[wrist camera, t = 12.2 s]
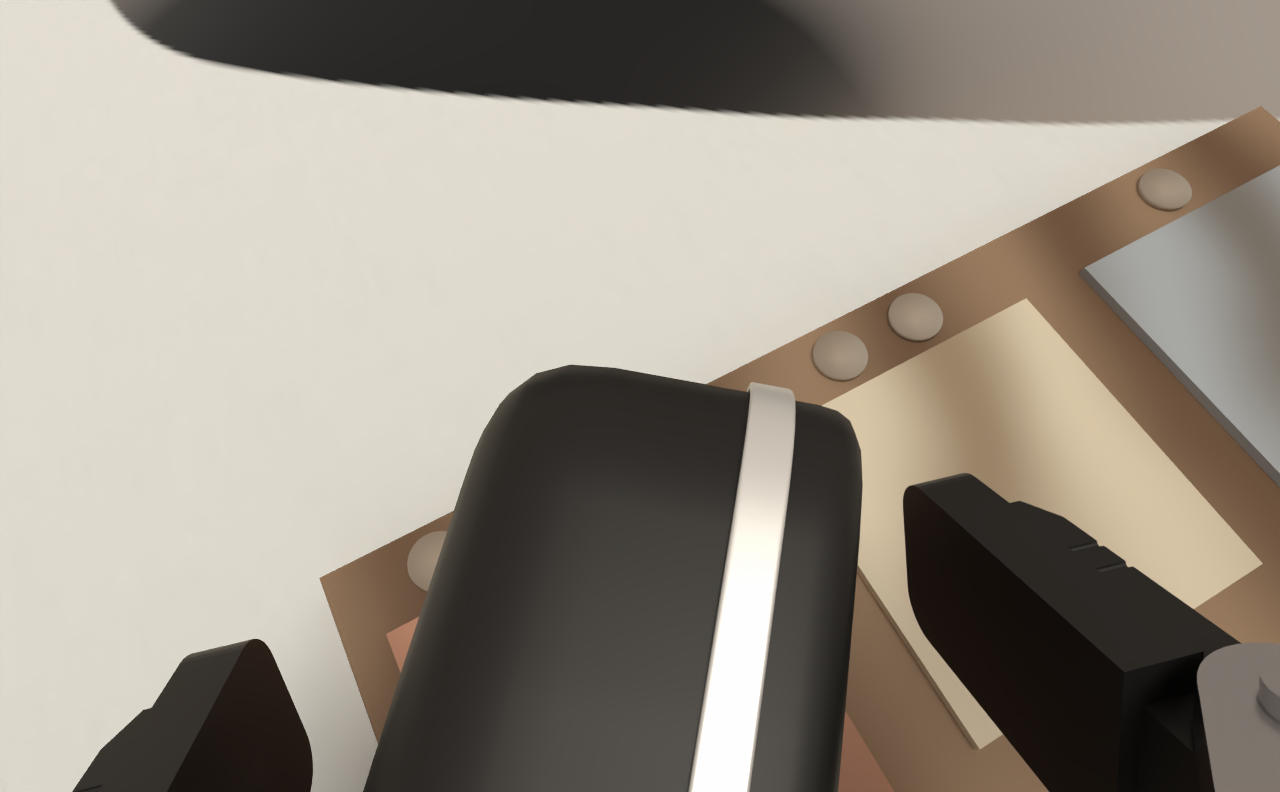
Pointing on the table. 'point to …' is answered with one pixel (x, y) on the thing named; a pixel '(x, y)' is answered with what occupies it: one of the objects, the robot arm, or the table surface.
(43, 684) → the table surface
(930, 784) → the tile board
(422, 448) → the table surface
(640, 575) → the battery charger
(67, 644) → the table surface
